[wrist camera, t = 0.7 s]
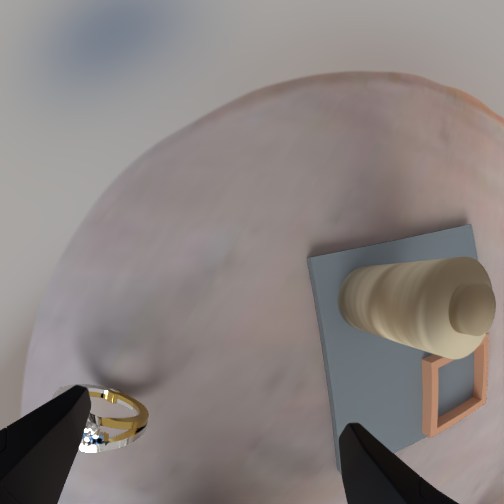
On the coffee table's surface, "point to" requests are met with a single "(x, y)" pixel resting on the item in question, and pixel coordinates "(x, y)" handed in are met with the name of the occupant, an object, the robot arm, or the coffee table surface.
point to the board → (393, 353)
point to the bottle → (422, 304)
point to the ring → (111, 421)
